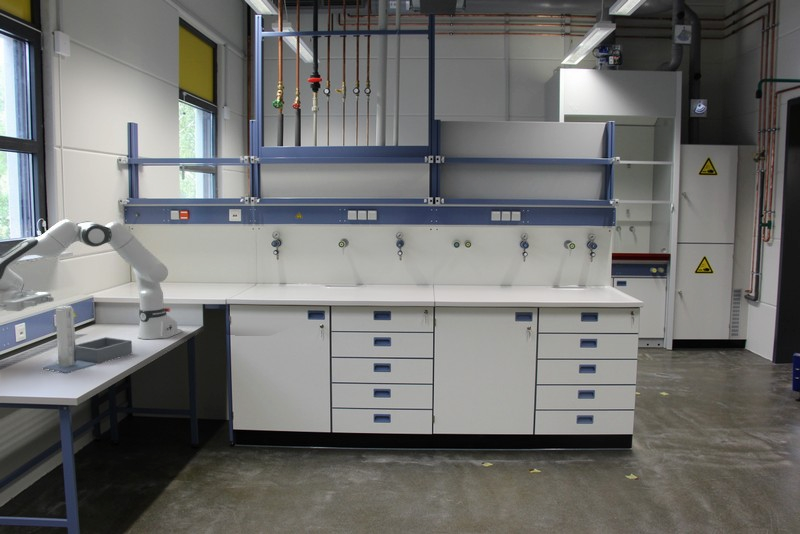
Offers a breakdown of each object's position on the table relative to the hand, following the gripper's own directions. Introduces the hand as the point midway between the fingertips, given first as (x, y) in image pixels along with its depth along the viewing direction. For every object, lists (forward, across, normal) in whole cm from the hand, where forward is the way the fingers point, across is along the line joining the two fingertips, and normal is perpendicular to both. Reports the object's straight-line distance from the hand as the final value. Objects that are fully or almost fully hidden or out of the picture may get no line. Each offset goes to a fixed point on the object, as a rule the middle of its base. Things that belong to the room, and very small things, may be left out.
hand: (44, 301), depth 252 cm
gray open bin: (+16, +12, +27) cm, 34 cm away
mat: (+14, -5, +26) cm, 30 cm away
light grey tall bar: (+14, -6, +26) cm, 30 cm away
